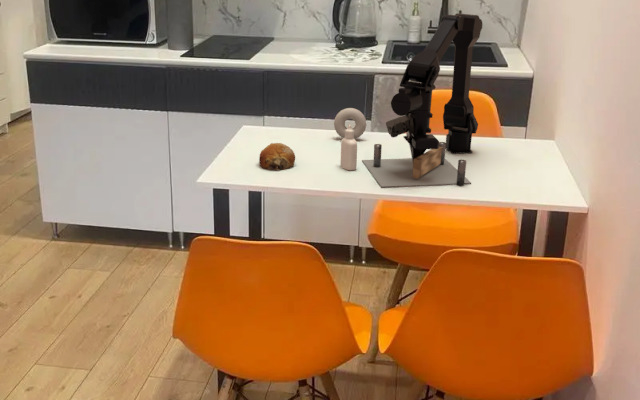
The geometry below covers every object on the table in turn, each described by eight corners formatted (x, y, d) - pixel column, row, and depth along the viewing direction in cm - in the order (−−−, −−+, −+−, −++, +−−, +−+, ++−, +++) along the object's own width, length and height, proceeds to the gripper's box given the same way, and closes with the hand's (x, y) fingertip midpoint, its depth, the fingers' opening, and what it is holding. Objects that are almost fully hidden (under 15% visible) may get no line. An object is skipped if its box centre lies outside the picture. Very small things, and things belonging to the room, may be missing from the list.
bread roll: (298, 177, 200) (303, 148, 200) (282, 171, 191) (288, 142, 191) (267, 171, 204) (272, 144, 204) (250, 166, 194) (256, 137, 195)
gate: (435, 162, 199) (436, 145, 197) (441, 163, 198) (442, 146, 196) (412, 177, 187) (413, 158, 185) (418, 178, 186) (419, 160, 184)
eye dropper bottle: (356, 164, 199) (357, 122, 195) (356, 171, 194) (357, 128, 190) (340, 164, 200) (341, 122, 195) (340, 170, 194) (341, 127, 190)
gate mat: (443, 158, 206) (443, 157, 206) (471, 184, 186) (471, 182, 186) (362, 161, 202) (362, 160, 202) (381, 187, 182) (381, 186, 182)
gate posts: (442, 164, 201) (444, 141, 199) (465, 185, 185) (467, 161, 182) (372, 166, 198) (373, 144, 196) (389, 189, 181) (390, 164, 179)
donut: (365, 138, 224) (367, 107, 220) (365, 141, 221) (366, 110, 217) (334, 137, 225) (334, 106, 221) (333, 140, 221) (333, 108, 218)
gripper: (381, 99, 195) (378, 154, 201) (399, 118, 178) (394, 177, 184) (420, 99, 197) (416, 153, 203) (442, 117, 180) (436, 175, 186)
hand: (415, 164), depth 194 cm, fingers closed
